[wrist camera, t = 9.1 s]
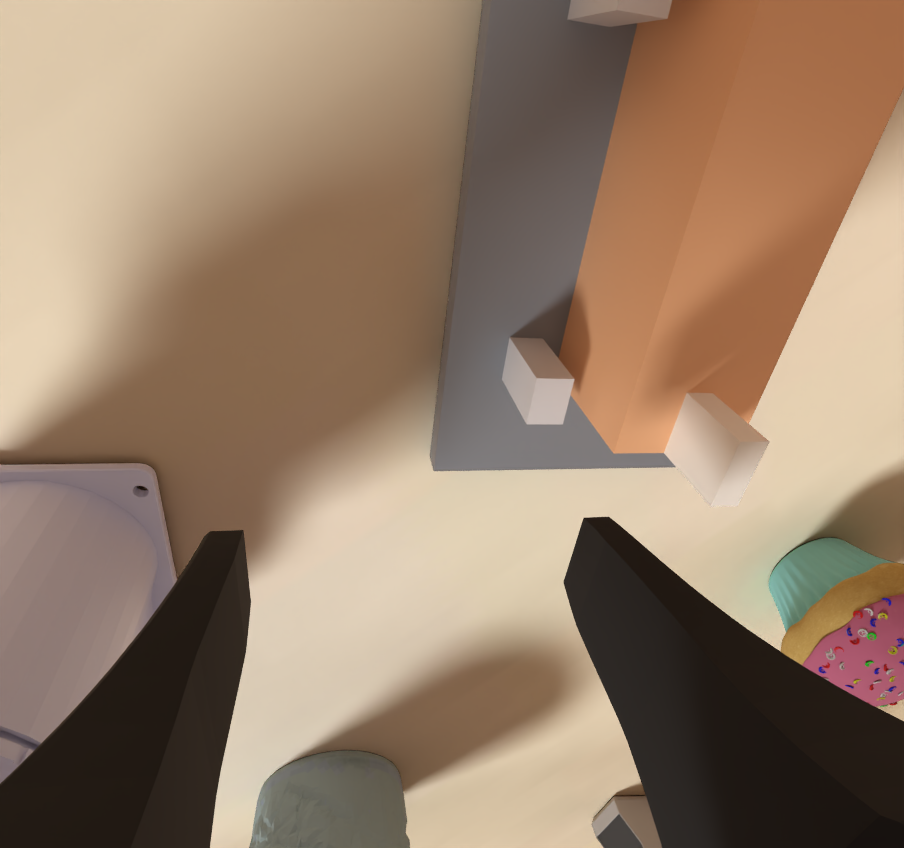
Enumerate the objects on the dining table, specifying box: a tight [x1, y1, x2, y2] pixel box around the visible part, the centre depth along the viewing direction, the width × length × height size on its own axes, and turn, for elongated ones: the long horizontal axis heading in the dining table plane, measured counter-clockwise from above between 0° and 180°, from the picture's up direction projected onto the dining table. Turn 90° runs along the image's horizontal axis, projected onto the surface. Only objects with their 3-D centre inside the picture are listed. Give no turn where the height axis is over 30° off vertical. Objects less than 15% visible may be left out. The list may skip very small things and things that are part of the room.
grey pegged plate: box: [430, 0, 675, 471], centre depth 17 cm, size 20×12×4 cm, turn 173°
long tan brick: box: [558, 0, 904, 507], centre depth 14 cm, size 12×4×7 cm, turn 173°
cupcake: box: [769, 538, 904, 707], centre depth 26 cm, size 9×8×12 cm
